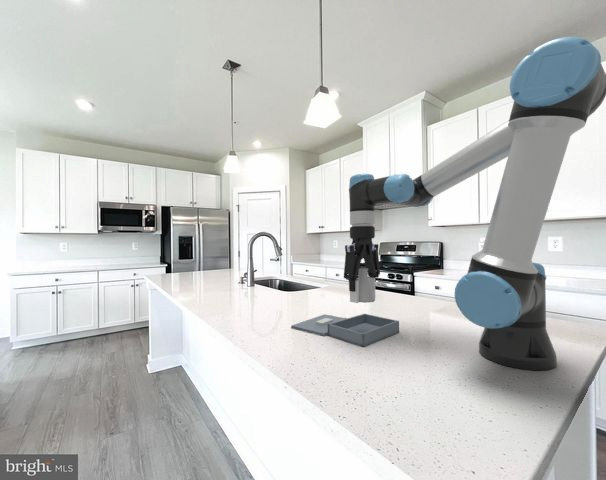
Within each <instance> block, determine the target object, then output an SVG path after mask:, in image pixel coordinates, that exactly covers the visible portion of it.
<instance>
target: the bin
mask: <svg viewBox="0 0 606 480" xmlns="http://www.w3.org/2000/svg"><path fill="white" fill-rule="evenodd" d="M346 318H347V317H346ZM399 333H400V320H396V319H391V318H387V317H381V316H377V315H373V314H368V313H362V314H358V315H354V316H351V317H348V318H347V319H344V320H340V321H337V322H333V323H330V324H328V335H327V337H330V338H332V339H333V338H334V339H337V340H340V341H343V342H347V343H349V344H352V345H355V346H358V347H362V348H364V347H367V346H369V345H371V344H374V343H376V342H379V341H381V340H384V339H386V338H388V337H391V336H393V335H397V334H399Z"/></svg>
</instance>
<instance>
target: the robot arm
mask: <svg viewBox="0 0 606 480" xmlns="http://www.w3.org/2000/svg"><path fill="white" fill-rule="evenodd" d="M509 92H510V96H511V99H512V100H513V104H512V108H511V112H510V115H509V119H508V120H507V121H505V122H503V123H502V124H500V125H498V126H497V127H495V128H494V129H492V130H490V131H489V132H487V133H486V134H485V135H483V136H481V137H480V138H478V139H476V140H475V141H473V142H471V143H470V144H468V145H467V146H465V147H464V148H462V149H460V150H459V151H457V152H456V153H454V154H453V155H451V156H449V157H447V158H445V159H444V160H443V161H441V162H439V163H438V164H436V165H435V166H433V167H431V168H430V169H429V170H427V171H425V172H424V173H422V174H420V175H419V176H417V177H416V178H414V179H412V178H411V177H410V174H407V173H399V174H397V173H396V174H392V175H388V176H384V177H379V178H375V176H374V175H373V174H370V173H361V174H359V173H356V174H354V175H351V177H350V178H349V188H348V193H349V195H348V196H349V197H348V198H349V225H350V227H349V238H350V239H352V242H351V244H346V245H344V250H345V256H344V257H345V258H344V269H343V279H345V280H346V281H348V290H349V302H350V303H355V304H359V303H360V302H359V281H358V276H359V268H361V263H362V260H363V262H364V264H365V265H364V266H365V268H368V271H367V276H368V281H369V284H370V287H371V290H372V293H373V295H374V298H375V299H376V285H377V284H376V283H377V281H376V279H378V278H379V277H380V275H381V271H380V270H381V268H380V267H381V266H380V260H379V258H380V257H379V244H378V243H376V244H375V243H373V239H375V237H376V229H375V226H374V225H375V224H376V217H375V214H376V213H375V212H376V211H375V206H378V205H389V204H390V205H391V204H393V205H399V206H400V205H401V206H409V207H414V208H416V207H417V208H420V207H425V206H428V205H429V204H430V203H431V202H432V200H433V199H434V197H436V196H438V195H440V194H441V193H443V192H445V191H447V190H449V189H451V188H452V187H454V186H457V185H458V184H460V183H463V181H466V180H467V179H469V178H471V177H473V176H475V175H477V174H478V173H480V172H483V171H484V170H486V169H488V168H489V167H491V166H493V165H495V164H497V163H498V162H501V161H503V160H505V159H506V162H505V166H504V169H503V170H504V171H503V174H502V177H501V180H500V181H501V182H500V184H499V185H500V186H499V188H498V192H497V195H496V199H495V202H494V206H493V209H492V213H491V217H490V221H489V225H488V228H487V232H486V235H485V239H484V243H483V245H482V246H483V247H482V249H481V250H480V251H478V252H476V253H474V254H472V256H471V259H470V263H469V266H468V270H467V273H466V274H464V275H463V276H462V277H460V279H459V280H458V282H457V283H456V285H455V288H454V301H455V303H456V304H455V305H456V307H458V309H459V311H460V312H461V314H462V316H464V317H465V319H467V320H468V322H471V323H473V324H475V326H476V325H477V326H478V327H480V328H481V327H482V328H483V331H482V334H481V336H480V338H479V343H478V351H479V353H480V355H481V356H482V357H484V358H485V359H488V360H489V361H492V362H494V363H496V364H499V365H503V366H506V367H510V368H511V367H512V368H515V369H521V370H528V371H529V370H530V371H548V370H552V369H554V368H556V367H557V359H558V358H557V354H556V351H555V348H554V346H553V343H552V340H551V339H550V336H549V333H548V331H547V319H546V318H547V315H546V314H547V313H546V312H547V311H546V310H547V309H546V307H547V305H546V304H547V302H546V299H547V298H546V294H547V293H546V280H547V275H546V269H545V267H544V265H543V264H541V263H536V262H533V261H532V260H533V257H534V253H535V251H536V247H537V244H538V241H539V237H540V234H541V231H542V227H543V224H544V222H545V219H546V215H547V211H548V208H549V205H550V202H551V200H552V196H553V193H554V190H555V187H556V183H557V181H558V177H559V173H560V171H561V168H562V164H563V163H564V162H563V161H564V157H565V154H566V152H567V148H568V145H569V141H570V139H571V137H572V135H574V134H575V133H576V132H578V131H580V130H581V129H583V128H584V127H585V126H586V124H587V121H588V119H589V117H590V116H591V115H593V114H594V113H595V112H596V110H597V109H599V107H600V106H601V105H602V104H603V101H604V100H605V98H606V72H605V69H604V67H603V65H602V57H601V53H600V51H599V50H598V48H597V47H596V46H595V45H593V44H592V43H591V42H590V41H589V40H588V39H585V38H582V37H579V36H564V37H563V36H562V37H558V38H555V39H552V40H550V41H547V42H545V43H543V44H541V45H539V46H537V47H536V48H534V49H533V50H532V51H530V53H528V55H525V57H523V58H522V60H521V61H520V62H519V63H518V64H517V66H516V67H515V69H514V70H513V73H512V74H511V77H510V82H509Z"/></svg>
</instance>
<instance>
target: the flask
mask: <svg viewBox="0 0 606 480" xmlns="http://www.w3.org/2000/svg"><path fill="white" fill-rule="evenodd" d="M367 271H368V268H366V267H359V271H358V275H357V281H359V303H374V302H375V301H376V297H375V298H374V295H373V293H372V290H371V287H370V284H369V281H368V277H369V276H368V272H367Z"/></svg>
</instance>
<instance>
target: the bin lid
mask: <svg viewBox="0 0 606 480" xmlns="http://www.w3.org/2000/svg"><path fill="white" fill-rule="evenodd" d="M344 319H347V317H346V318H345V317H341V316H336V315H330V314H325V313H324V314H322V315H319V316H315V317H312V318H310V319H309V318H308V319H306V320H304V321H301V322H298V323H295V324H292V325H291V326H290V328H291V329H294V330H298V331H301V332H305V333H309V334H314V335H318V336H321V337H326V336H328V324H330V323H333V322H337V321H340V320H344Z"/></svg>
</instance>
